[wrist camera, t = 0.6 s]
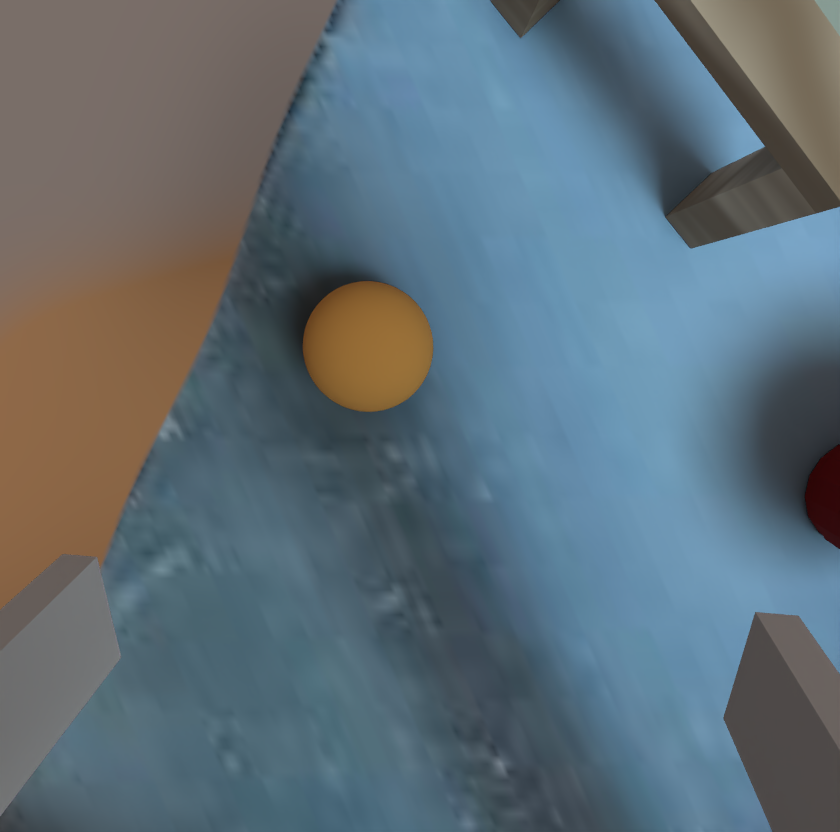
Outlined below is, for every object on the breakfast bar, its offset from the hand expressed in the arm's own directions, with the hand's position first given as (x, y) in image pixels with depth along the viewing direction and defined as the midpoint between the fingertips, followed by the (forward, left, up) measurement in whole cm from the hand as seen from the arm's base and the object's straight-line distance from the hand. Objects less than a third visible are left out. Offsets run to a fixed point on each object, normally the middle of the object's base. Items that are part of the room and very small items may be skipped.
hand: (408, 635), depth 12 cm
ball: (+3, +5, -14) cm, 15 cm away
